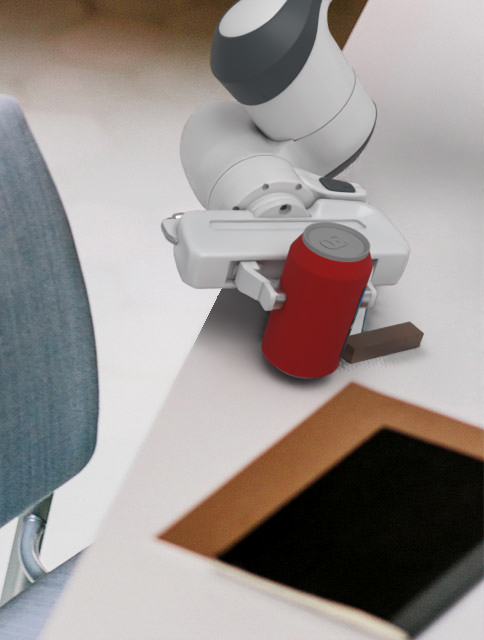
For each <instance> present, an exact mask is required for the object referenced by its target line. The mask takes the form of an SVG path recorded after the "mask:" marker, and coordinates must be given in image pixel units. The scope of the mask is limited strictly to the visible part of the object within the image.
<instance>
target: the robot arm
mask: <svg viewBox="0 0 484 640" xmlns="http://www.w3.org/2000/svg"><path fill="white" fill-rule="evenodd" d="M332 2H333V0H236V1H235V2H234V3H233V4H232V5H230V6H229V7H228V8H227V10H226V11H225V12H223V14H222V15H221V17H220V18H219V20H218V22H217V24H216V27H215V29H214V33H213V37H212V41H211V47H210V56H209V68H210V71H211V73H212V75H213V76H214V78H215V79H216V80H217V81H218V82H219V83H220V84H221V85H222V87H224V89H225V90H226V91H227V92H228V93H229V94H230V95H231V96H232V97H233V98H234V99H235V100H228V99H214V100H211V101H208V102H206V103H204V104H202V105H200V106H199V107H198V108H196V109H195V110H194V111H193V112H192V113H191V114H190V115H189V117H188V118H187V120H186V122H185V123H184V125H183V128H182V131H181V135H180V139H179V158H180V162H181V166H182V171H183V173H184V176H185V178H186V179H187V183H188V184H189V187H190V188H191V191H192V192H193V194H194V196H195V198H196V199H197V201H198V203H199V204H200V205H201V206H202V208H204V209H203V210H202V209H200V210H199V209H197V210H196V209H195V210H188V211H186V212H175V213H173V214H172V216H170V217H166V218H164V219H163V220H162V221H161V223H160V230H161V232H162V233H161V234H162V235H163V237H164V238H165V240H166V241H167V242H168V243H170V244H171V245H173V247H172V251H173V252H172V253H173V258H174V263H175V266H176V269H177V272H178V275H179V277H180V279H181V282H182V283H184V285H187V286H189V287H191V288H193V289H196V290H210V289H211V290H212V289H215V290H218V289H237V290H238V291H239V292H240V293H242V294H244V295H246V296H248V297H250V298H251V299H253V300H255V301H258V302H259V304H260V306H261V307H262V309H263V310H264V312H271V311H276V310H283V309H284V304H283V303H285V302H286V299H287V295H286V292H285V291H284V289H283V288H282V286H281V283H280V282H279V281H280V278H281V274H282V271H283V268H284V265H285V261H286V258H287V255H288V251H289V248H290V246H291V244H292V243H293V241H294V240H296V239H297V238H298V237H299V236H300V235H301V234H302V233H303V232H304V229H305V228H306V227H307V226H309V225H311V224H313V223H318V222H332V223H338V224H342V225H345V226H348V227H351V228H353V229H355V230H357V231H358V232H360V233H361V234H363V235H364V236H365V237H366V238H367V239H368V241H369V243H370V254H371V258H372V263H373V269H372V272H371V275H370V278H369V281H368V284H367V287H366V290H365V293H364V296H363V299H362V302H361V305H360V307H359V308H367V310H368V309H369V310H370V309H373V308H374V306H375V303H376V300H377V297H378V291H377V289H376V287H378V286H380V287H381V286H382V287H383V286H386V287H387V286H395V285H397V284H398V283H399V282H400V281H401V278H402V277H403V274H404V272H405V270H406V268H407V265H408V262H409V260H410V256H411V248H410V247H411V246H410V243H409V241H408V240H407V239H406V237H405V236H404V234H403V233H402V232H401V231H400V230H399V228H398V227H397V226H396V225H395V224H394V223H393V221H392V220H391V219H390V218H389V217H388V216H387V215H386V214H385V213H384V212H383V211H382V210H380V209H379V208H378V207H376V206H374V205H373V204H370V203H368V202H367V201H366V200H367V197H368V196H367V195H368V193H367V191H366V189H365V188H364V187H363V186H362V185H360V184H358V183H356V182H351V181H346V180H340V179H335V178H336V177H337V176H339V175H340V174H342V173H343V172H344V171H345V170H347V169H348V168H349V167H350V166H352V164H353V163H354V162H355V161H356V160H357V159H358V158H359V157H360V155H361V154H362V153H363V151H365V148H366V147H367V146H368V143H369V142H370V140H371V138H372V136H373V134H374V131H375V127H376V125H377V124H376V123H377V119H378V109H377V105H376V103H375V101H374V99H372V96H371V95H370V93H369V91H368V90H367V87H366V86H365V85H364V82H363V81H362V79H360V77H359V75H358V73H357V72H356V70H355V69H354V67H353V66H351V64H350V62H349V61H348V59H347V57H346V56H345V54H344V52H343V51H342V50H341V48H340V46H339V44H338V43H337V42H336V40H335V38H334V37H333V35H332V33H331V31H330V29H329V25H328V24H329V23H328V10H329V7H330V4H331V3H332ZM375 286H376V287H375Z"/></svg>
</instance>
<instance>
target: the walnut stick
mask: <svg viewBox="0 0 484 640" xmlns="http://www.w3.org/2000/svg"><path fill="white" fill-rule="evenodd" d="M424 335H425V333H424V332H423V331H422V330H421V329H420V328H419V327H417V326H416V325H415V324H414V323H413V322H412V321H406V322H401V323H397V324H392V325H388V326H384V327H379V328H375V329H372V330H367V331H362V333H358V334H354V335H350V336H349V339H348V341H347V344H346V347H345V350H344V352H343V353H344V355H343V358H342V359H344V360H345V361H346V362H347V363H349V364H354V363H359V362H363V361H366V360H371V359H375V358H379V357H383V356H386V355H392V354H394V353H395V354H396V353H399V352H403V351H407V350H411V349H415V348H419V347H420V346H421V343H422V340H423V338H424Z"/></svg>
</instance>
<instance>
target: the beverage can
mask: <svg viewBox="0 0 484 640" xmlns="http://www.w3.org/2000/svg"><path fill="white" fill-rule="evenodd" d="M372 269H373V263H372V258H371V254H370V243H369V241H368V239H367V238H366V237H365V236H364V235H363V234H361V233H360V232H358V231H357V230H355V229H353V228H351V227H348V226H345V225H342V224H338V223H332V222H318V223H313V224H311V225H309V226H307V227H306V228H305V229H304V232H303V233H302V234H301V235H300V236H299V237H298V238H297V239H296V240H294V241H293V243H292V244H291V246H290V248H289V251H288V255H287V258H286V261H285V265H284V268H283V271H282V274H281V278H280V281H279V282H280V283H281V286H282V288H283V289H284V291H285V292H286V295H287V299H286V302H285V303H283V304H284V309H283V310H276V311H269V312H270V313H269V315H268V319H267V323H266V326H265V330H264V334H263V337H262V342H261V352H262V354H263V357H264V358H265V359H266V360H267V361H268V362H269V363H270V364H271V365H272V366H274V367H275V368H276V369H278V370H279V371H280V372H281V373H283V374H286V375H288V376H290V377H294V378H297V379H318V378H324V377H327V376H330V375H332V374H333V373H334V372H335V371H337V369H338V368H339V366H340V363H341V360H342V359H343V358H342V355H343V352H344V350H345V347H346V344H347V341H348V339H349V336H350V333H351V330H352V327H353V325H354V322H355V319H356V316H357V313H358V310H359V307H360V305H361V302H362V299H363V296H364V293H365V290H366V287H367V284H368V281H369V278H370V275H371V272H372Z"/></svg>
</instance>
